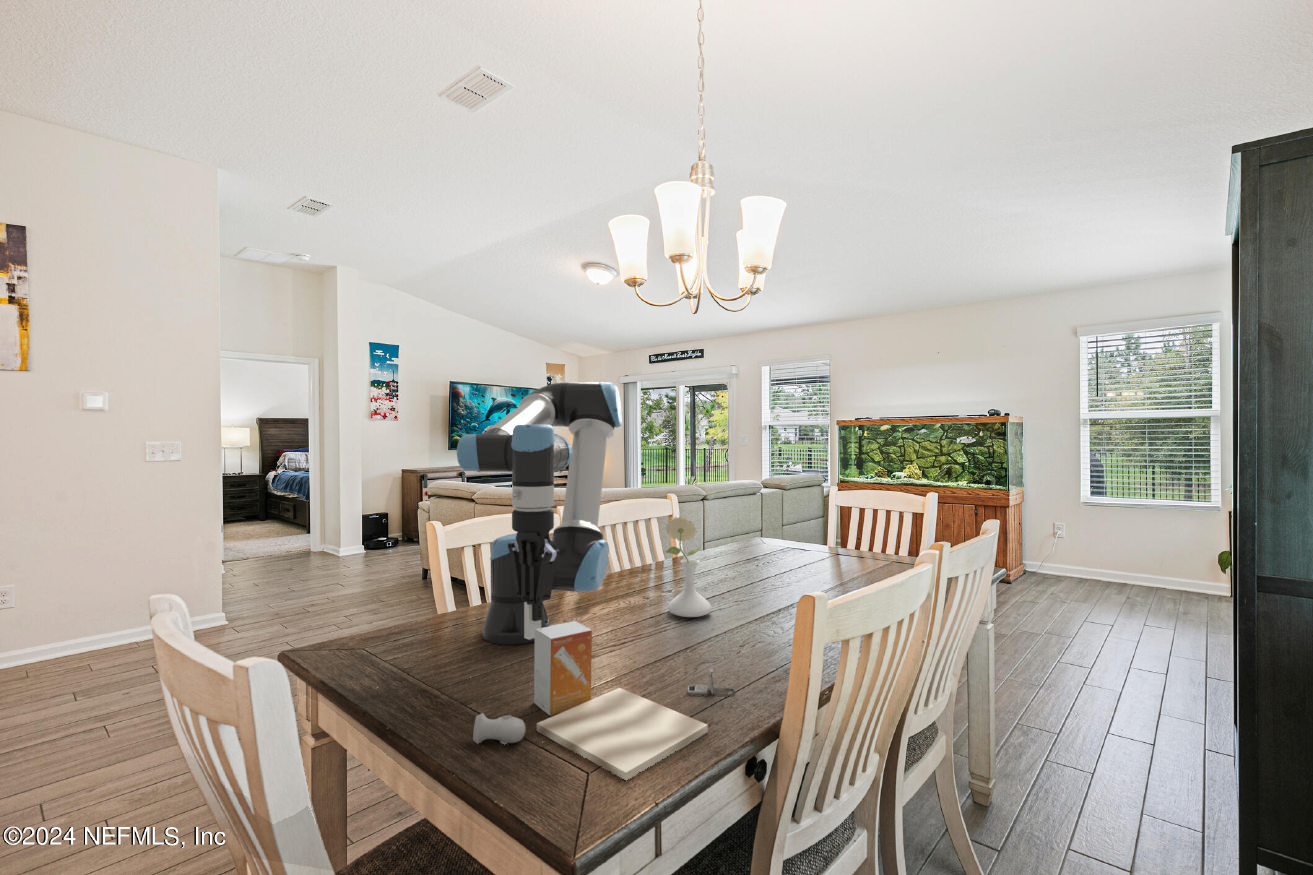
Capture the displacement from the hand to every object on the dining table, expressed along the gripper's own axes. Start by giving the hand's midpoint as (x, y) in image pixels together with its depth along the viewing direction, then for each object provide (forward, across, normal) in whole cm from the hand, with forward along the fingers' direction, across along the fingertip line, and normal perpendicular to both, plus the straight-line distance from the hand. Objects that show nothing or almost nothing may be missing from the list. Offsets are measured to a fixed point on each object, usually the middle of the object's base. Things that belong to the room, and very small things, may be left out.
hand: (532, 636), depth 110 cm
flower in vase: (+10, -8, +54) cm, 55 cm away
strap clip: (+10, +25, +21) cm, 34 cm away
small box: (+10, +9, 0) cm, 13 cm away
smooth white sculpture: (+10, +12, -14) cm, 21 cm away
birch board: (+9, +24, 0) cm, 25 cm away
